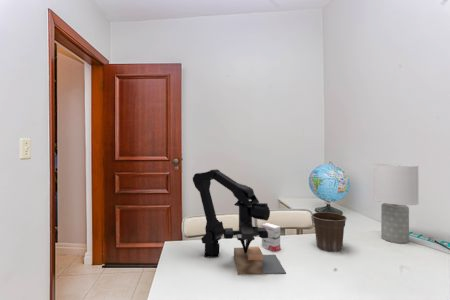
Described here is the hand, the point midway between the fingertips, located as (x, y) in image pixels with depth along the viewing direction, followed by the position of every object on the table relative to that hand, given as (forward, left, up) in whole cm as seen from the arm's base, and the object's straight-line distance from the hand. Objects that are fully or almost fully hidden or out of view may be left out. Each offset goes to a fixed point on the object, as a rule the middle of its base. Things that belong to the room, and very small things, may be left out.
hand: (245, 252), depth 104 cm
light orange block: (+4, 0, -1) cm, 4 cm away
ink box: (+15, +17, -5) cm, 24 cm away
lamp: (+87, +26, -5) cm, 91 cm away
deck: (+1, 0, -5) cm, 5 cm away
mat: (+10, 0, -5) cm, 12 cm away
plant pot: (+45, +17, -5) cm, 49 cm away
